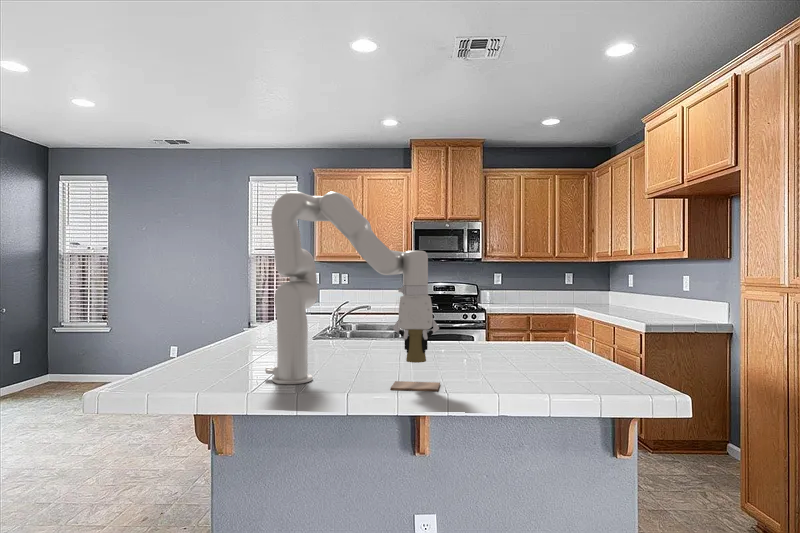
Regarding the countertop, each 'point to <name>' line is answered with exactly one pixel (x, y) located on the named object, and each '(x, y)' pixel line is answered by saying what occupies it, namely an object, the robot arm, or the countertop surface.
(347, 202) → the robot arm
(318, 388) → the countertop surface
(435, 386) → the walnut board
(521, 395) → the countertop surface
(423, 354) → the cork
